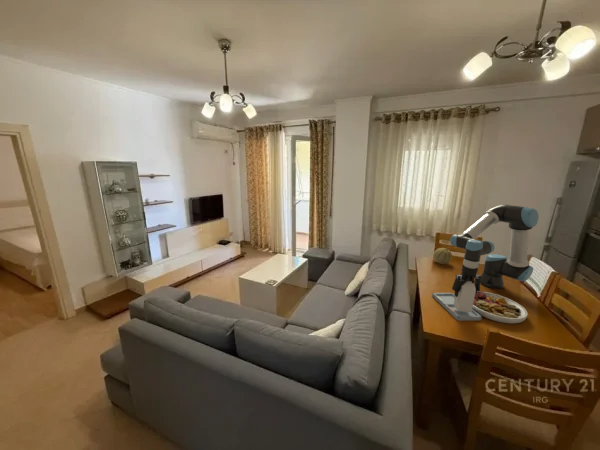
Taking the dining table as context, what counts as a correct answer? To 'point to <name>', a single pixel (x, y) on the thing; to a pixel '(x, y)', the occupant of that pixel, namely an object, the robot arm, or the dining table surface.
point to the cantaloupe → (442, 255)
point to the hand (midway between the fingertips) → (463, 301)
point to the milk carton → (466, 297)
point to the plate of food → (498, 308)
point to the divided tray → (448, 304)
